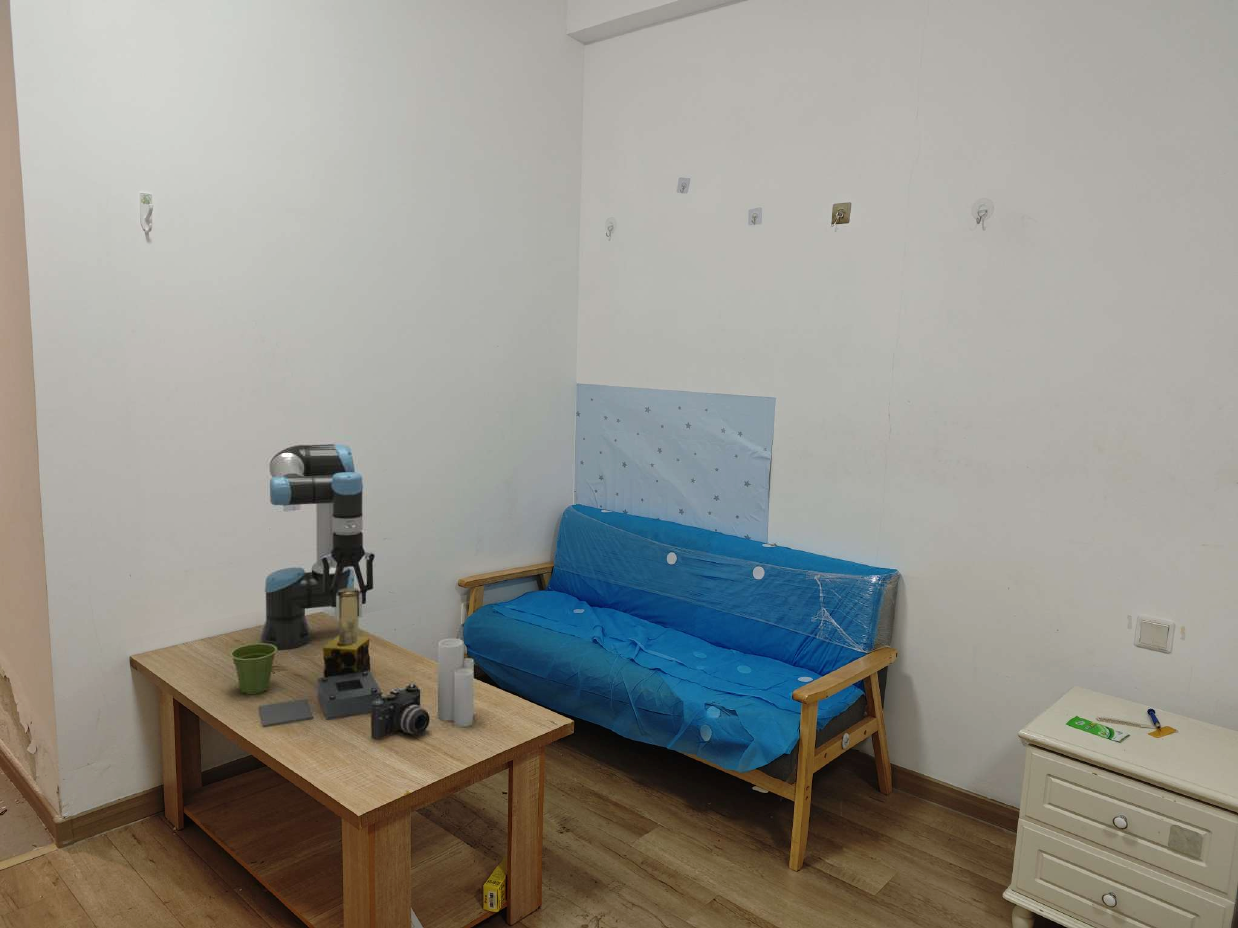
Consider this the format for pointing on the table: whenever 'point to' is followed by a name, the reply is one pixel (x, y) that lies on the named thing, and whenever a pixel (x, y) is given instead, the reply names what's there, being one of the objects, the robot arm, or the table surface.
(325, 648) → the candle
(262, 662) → the plant pot
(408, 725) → the camera
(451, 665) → the grey cylinder cluster
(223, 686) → the table surface
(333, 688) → the housing
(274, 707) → the mat
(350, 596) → the plug
